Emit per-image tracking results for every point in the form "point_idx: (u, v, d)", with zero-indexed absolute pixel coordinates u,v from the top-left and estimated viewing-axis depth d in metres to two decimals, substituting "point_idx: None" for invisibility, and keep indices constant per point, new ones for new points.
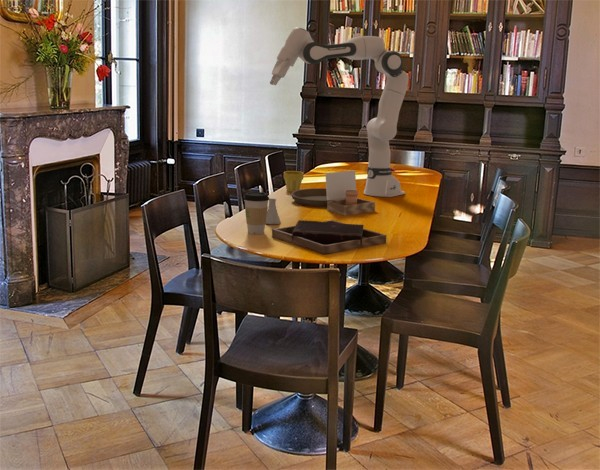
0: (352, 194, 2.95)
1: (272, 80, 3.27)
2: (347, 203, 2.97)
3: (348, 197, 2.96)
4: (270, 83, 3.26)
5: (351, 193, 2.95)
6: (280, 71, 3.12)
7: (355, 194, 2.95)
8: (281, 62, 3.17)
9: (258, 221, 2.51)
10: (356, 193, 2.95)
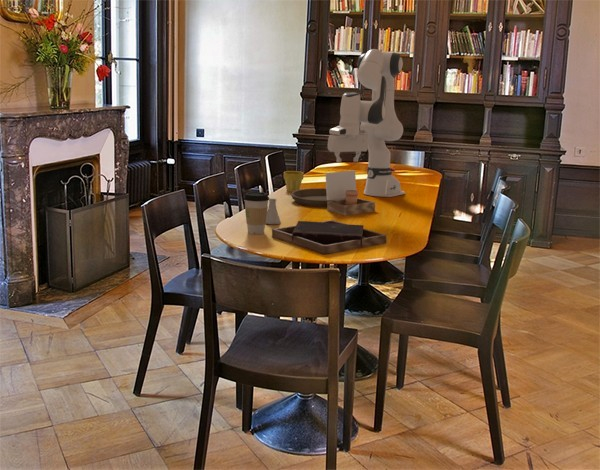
0: (352, 194, 2.95)
1: None
2: (347, 203, 2.97)
3: (348, 197, 2.96)
4: None
5: (351, 193, 2.95)
6: None
7: (355, 194, 2.95)
8: (357, 137, 2.93)
9: (258, 221, 2.51)
10: (356, 193, 2.95)
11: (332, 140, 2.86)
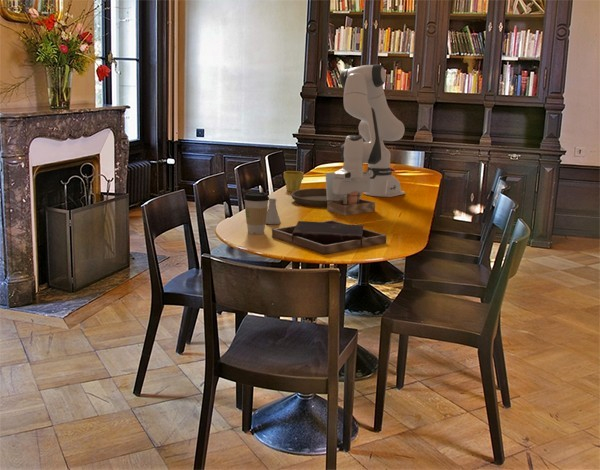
0: (352, 194, 2.95)
1: None
2: None
3: (348, 197, 2.96)
4: (347, 203, 2.97)
5: (351, 193, 2.95)
6: None
7: (355, 194, 2.95)
8: (360, 179, 2.97)
9: (258, 221, 2.51)
10: (356, 193, 2.95)
11: (337, 183, 2.90)
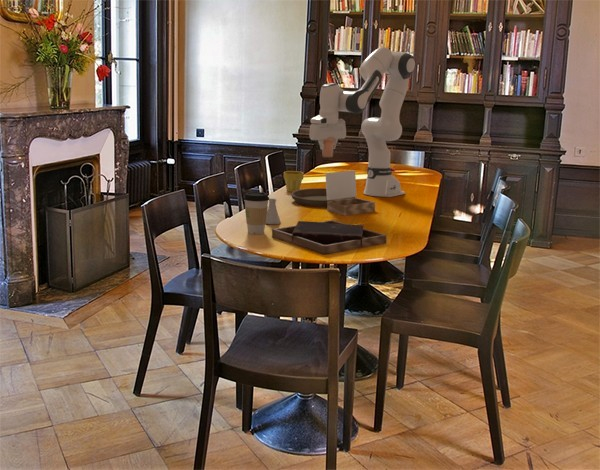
0: (328, 140, 3.08)
1: (322, 145, 3.09)
2: (324, 149, 3.11)
3: (324, 143, 3.10)
4: None
5: (327, 139, 3.08)
6: None
7: (331, 140, 3.09)
8: (336, 125, 3.10)
9: (258, 221, 2.51)
10: (332, 139, 3.09)
11: (314, 129, 3.03)
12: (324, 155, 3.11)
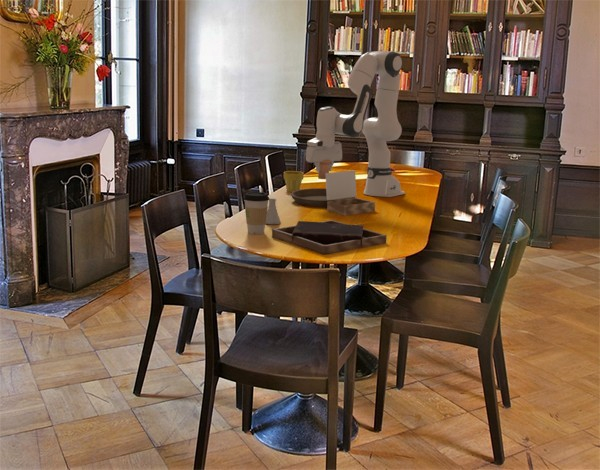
0: (324, 162, 3.13)
1: None
2: None
3: (320, 165, 3.14)
4: None
5: (323, 161, 3.13)
6: None
7: (327, 162, 3.13)
8: (332, 148, 3.15)
9: (258, 221, 2.51)
10: (328, 161, 3.13)
11: (310, 151, 3.07)
12: (320, 177, 3.15)
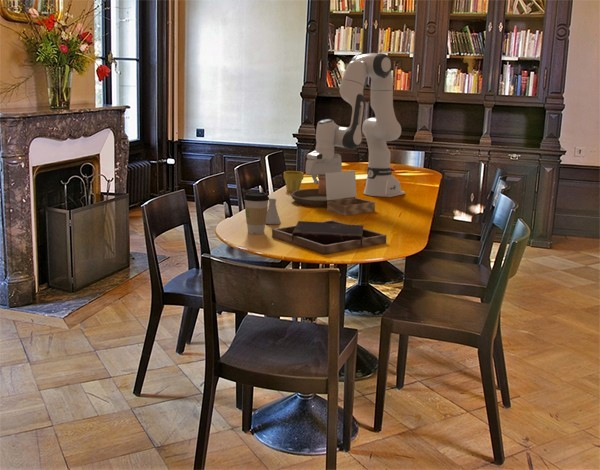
0: (324, 177, 3.15)
1: None
2: (319, 186, 3.17)
3: (320, 180, 3.16)
4: None
5: (323, 177, 3.14)
6: None
7: None
8: (332, 160, 3.16)
9: (258, 221, 2.51)
10: None
11: (310, 164, 3.09)
12: (320, 192, 3.17)
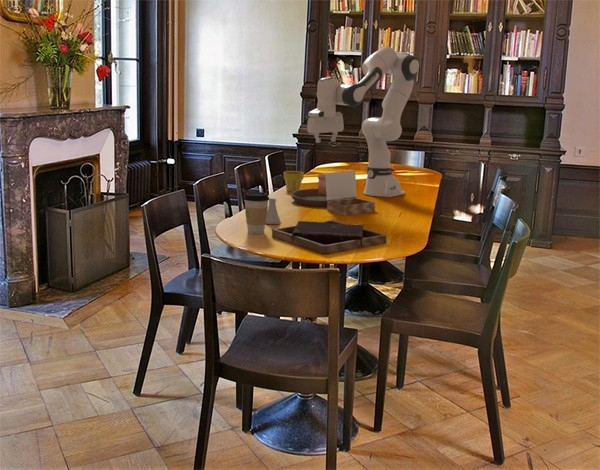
0: (324, 177, 3.15)
1: None
2: (319, 186, 3.17)
3: (320, 180, 3.16)
4: None
5: (323, 176, 3.15)
6: None
7: None
8: (334, 118, 3.14)
9: (258, 221, 2.51)
10: None
11: (311, 122, 3.07)
12: (320, 192, 3.17)
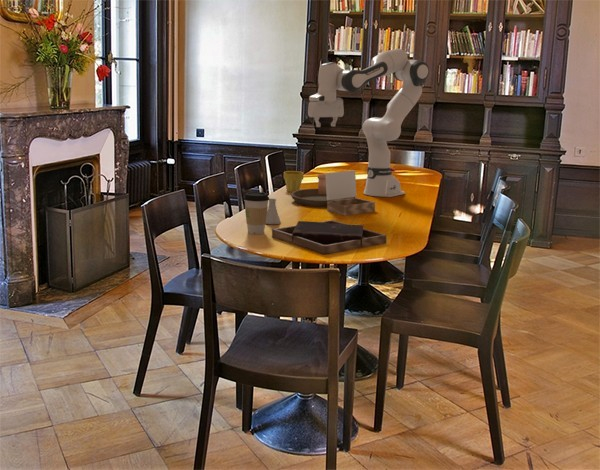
0: (324, 177, 3.15)
1: (318, 122, 3.19)
2: (319, 186, 3.17)
3: (320, 180, 3.16)
4: (320, 126, 3.19)
5: (323, 176, 3.14)
6: None
7: None
8: (334, 103, 3.20)
9: (258, 221, 2.51)
10: None
11: (312, 106, 3.13)
12: (320, 192, 3.17)
